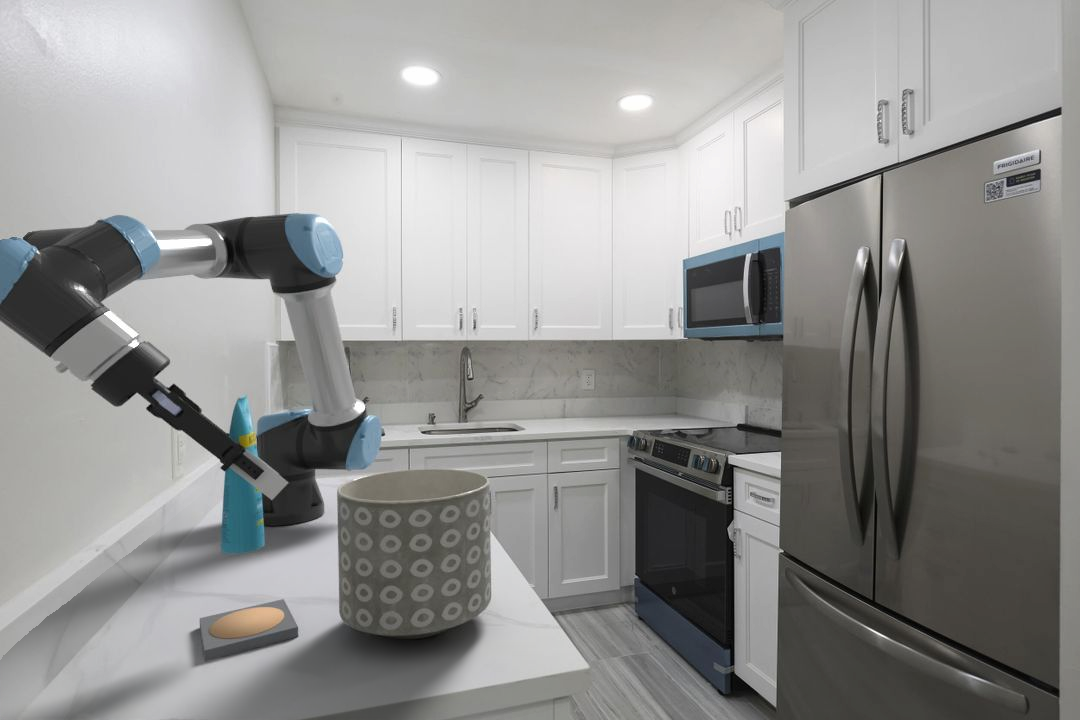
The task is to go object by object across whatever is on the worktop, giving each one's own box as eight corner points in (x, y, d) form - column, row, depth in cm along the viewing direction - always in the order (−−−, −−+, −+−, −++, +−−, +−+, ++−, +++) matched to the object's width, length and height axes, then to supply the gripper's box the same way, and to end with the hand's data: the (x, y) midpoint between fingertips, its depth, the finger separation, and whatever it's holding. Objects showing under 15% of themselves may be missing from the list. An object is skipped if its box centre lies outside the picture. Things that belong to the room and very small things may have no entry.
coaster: (199, 627, 74) (199, 617, 74) (283, 607, 79) (283, 598, 79) (204, 661, 65) (204, 649, 65) (298, 636, 71) (297, 625, 71)
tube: (264, 554, 70) (262, 396, 70) (219, 561, 67) (216, 397, 67) (264, 537, 76) (262, 393, 76) (222, 543, 74) (220, 394, 74)
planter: (337, 606, 79) (335, 475, 79) (471, 585, 86) (469, 464, 86) (342, 677, 62) (339, 508, 61) (510, 643, 68) (508, 491, 68)
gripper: (94, 383, 71) (243, 495, 80) (75, 388, 56) (264, 527, 65) (146, 340, 74) (284, 453, 83) (141, 334, 58) (312, 474, 67)
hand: (275, 485), depth 74 cm, fingers closed on tube, 6 cm apart
